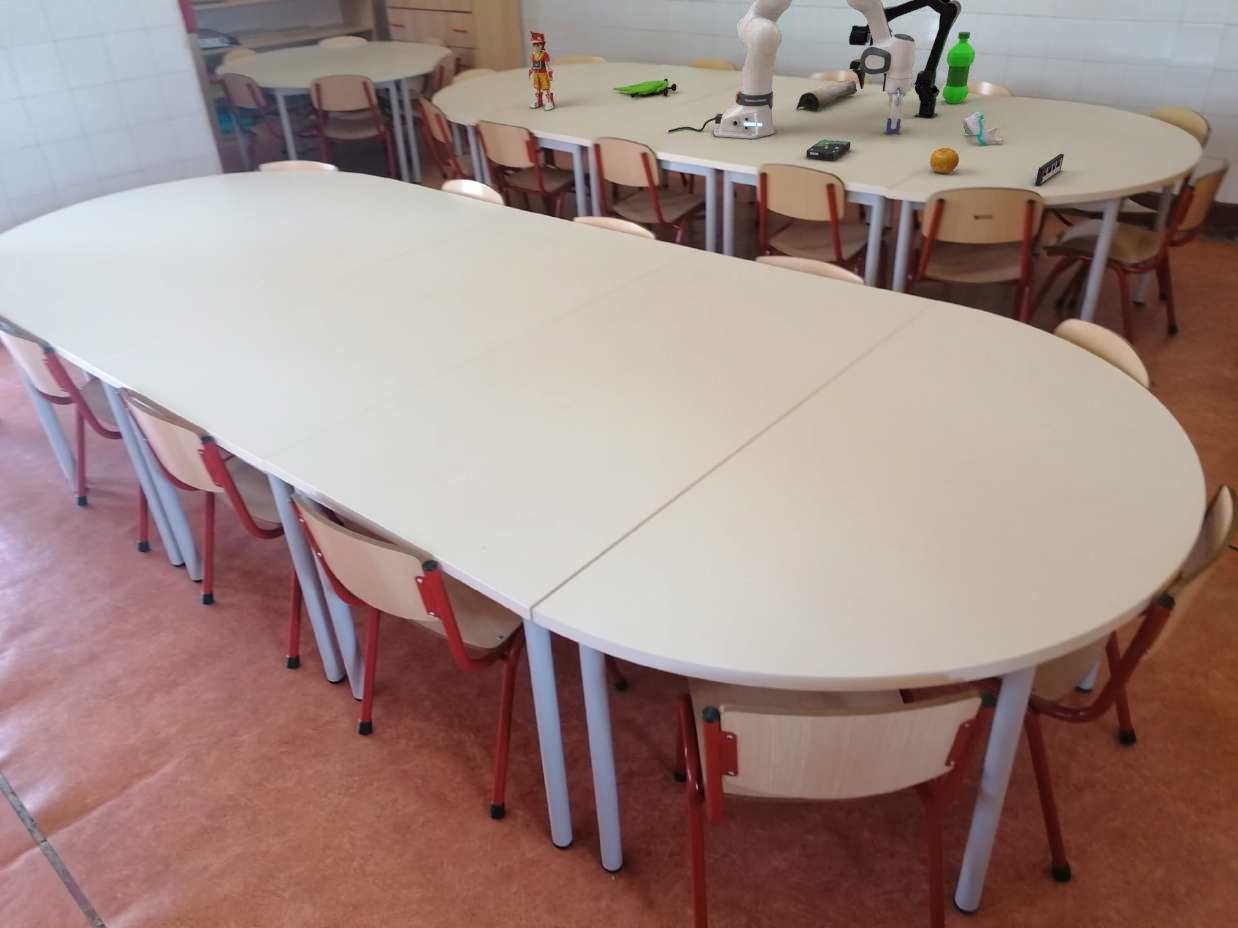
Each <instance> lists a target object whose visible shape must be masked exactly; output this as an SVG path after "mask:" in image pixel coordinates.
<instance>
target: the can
mask: <svg viewBox="0 0 1238 928" xmlns="http://www.w3.org/2000/svg"><path fill="white" fill-rule="evenodd" d="M901 120H902V119H898V121H897V125H896V129H891V121H892V119H891V118H890V117H888V118H887V120H886V126H885V129H886V130H885V131H886V133H890V134H896V133H899V132H900V129H901V122H902V121H901Z"/></svg>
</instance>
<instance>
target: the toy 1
mask: <svg viewBox="0 0 1238 928" xmlns="http://www.w3.org/2000/svg"><path fill="white" fill-rule="evenodd" d="M529 33H530V35H531V36H528V37H527V38H528V39H529V40H528V41H527V43H529V44H530V43H531V44H532V48H533V50H534V51H533V52H532V55H531V58H530V59H531V63H530V66H528V74H527V75H528V76H527V77H528V79H529V80H531V75H532V74H533V84H532V85H533V86H532V87H533V88H534V89H535V90H536V92H534V95H535V97H536V100H535V101H533V102H531V105H530V108H531V109H535V108H538V107H542V106H544V101H543V100H544V99H543V95H544V92H546V94H545V97H546V99H547V103H546V104H545V106H544V110H546V111H549V110H553V109H554V107H555V106H556V105H555V99H554V92H551V91H550V90H551V86H552V84H551V82H552V81H553V80H554V77H553V73H554V71H555V70H554V69H552V68H551V63H550V61H551V59H550V58H551V57H550V54H549V53H548V52H547V50H546V48H545V46H546V44H547V41H545V35H544V33H543V32H542V33H539V32H535V31H529Z"/></svg>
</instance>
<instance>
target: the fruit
mask: <svg viewBox="0 0 1238 928" xmlns="http://www.w3.org/2000/svg"><path fill="white" fill-rule="evenodd" d="M959 163H960V156H959V154H958V152H957V151H956V150H955V149H953V148H951V147H942V148H938V149H936V150H934V151H933V153H932V154H931V155H930V159H929V166H930V168H931V169H932V170H933V171H934V172H936V173H939V174H940V173H943V174H944V173H945V174H946V173H951V172H953V171H954V170H956V168H957V167H958V165H959Z"/></svg>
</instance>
